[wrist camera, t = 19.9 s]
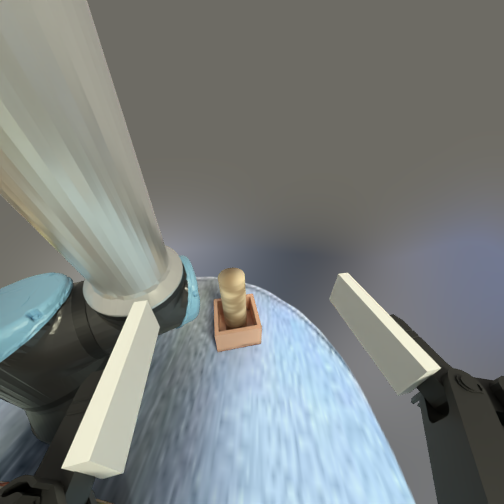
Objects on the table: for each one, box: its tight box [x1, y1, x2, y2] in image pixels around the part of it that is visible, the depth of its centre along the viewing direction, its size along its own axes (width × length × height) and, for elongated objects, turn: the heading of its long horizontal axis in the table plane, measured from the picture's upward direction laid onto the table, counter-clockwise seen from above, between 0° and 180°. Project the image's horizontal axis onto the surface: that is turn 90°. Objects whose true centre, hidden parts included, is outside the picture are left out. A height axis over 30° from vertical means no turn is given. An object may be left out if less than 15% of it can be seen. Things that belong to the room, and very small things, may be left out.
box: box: [214, 294, 262, 352], centre depth 42 cm, size 10×10×6 cm
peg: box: [218, 268, 247, 330], centre depth 38 cm, size 5×5×16 cm
